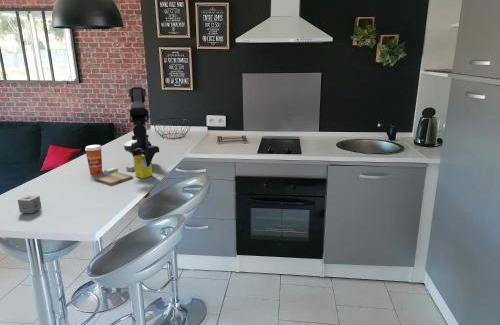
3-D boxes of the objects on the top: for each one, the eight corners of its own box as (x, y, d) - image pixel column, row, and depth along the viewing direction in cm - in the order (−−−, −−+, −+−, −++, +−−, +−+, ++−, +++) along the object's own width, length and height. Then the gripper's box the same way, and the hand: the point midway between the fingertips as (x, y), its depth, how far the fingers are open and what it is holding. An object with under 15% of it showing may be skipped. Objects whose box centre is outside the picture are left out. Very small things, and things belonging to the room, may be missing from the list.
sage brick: (114, 173, 183) (113, 167, 182) (118, 173, 182) (117, 168, 181) (104, 176, 178) (103, 170, 177) (109, 177, 177) (108, 171, 176)
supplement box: (145, 174, 179) (143, 153, 176) (152, 176, 176) (151, 155, 173) (135, 177, 175) (133, 155, 172) (142, 179, 171) (140, 157, 168)
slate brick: (135, 169, 189) (134, 164, 188) (139, 170, 188) (139, 164, 187) (126, 172, 184) (126, 166, 183) (131, 173, 182) (130, 167, 182)
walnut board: (117, 175, 179) (116, 172, 179) (132, 179, 172) (132, 176, 172) (95, 181, 169) (94, 178, 169) (111, 185, 163) (110, 182, 162)
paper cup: (86, 176, 177) (83, 148, 173) (89, 172, 184) (85, 145, 181) (104, 175, 179) (100, 147, 175) (105, 170, 186) (102, 144, 183)
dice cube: (19, 212, 134) (17, 199, 133) (29, 207, 139) (27, 195, 138) (31, 213, 133) (29, 200, 132) (41, 208, 138) (39, 195, 137)
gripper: (113, 134, 168) (116, 166, 172) (139, 138, 158) (142, 172, 162) (132, 130, 177) (135, 161, 181) (159, 134, 167) (161, 166, 171)
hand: (142, 165), depth 174 cm, fingers open, 7 cm apart
